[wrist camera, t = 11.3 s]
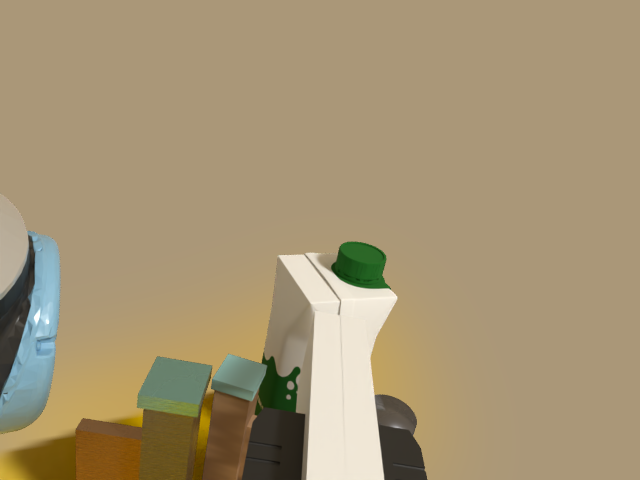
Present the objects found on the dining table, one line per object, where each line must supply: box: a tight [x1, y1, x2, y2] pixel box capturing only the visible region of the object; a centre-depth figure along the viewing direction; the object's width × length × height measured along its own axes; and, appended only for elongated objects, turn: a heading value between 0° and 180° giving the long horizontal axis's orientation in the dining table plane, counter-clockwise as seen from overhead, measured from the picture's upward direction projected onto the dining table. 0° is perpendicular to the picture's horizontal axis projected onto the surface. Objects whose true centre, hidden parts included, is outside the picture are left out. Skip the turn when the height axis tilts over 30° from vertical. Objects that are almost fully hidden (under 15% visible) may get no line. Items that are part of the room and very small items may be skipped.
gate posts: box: [76, 357, 417, 480], centre depth 34 cm, size 21×4×15 cm, turn 89°
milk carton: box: [254, 242, 397, 416], centre depth 45 cm, size 9×9×20 cm
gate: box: [202, 354, 267, 480], centre depth 35 cm, size 9×3×14 cm, turn 78°
